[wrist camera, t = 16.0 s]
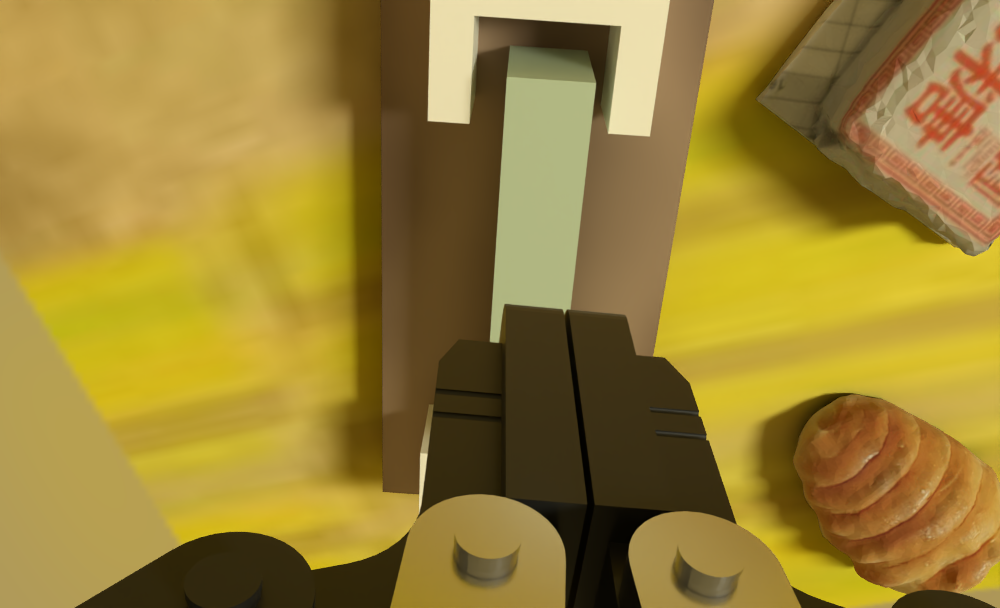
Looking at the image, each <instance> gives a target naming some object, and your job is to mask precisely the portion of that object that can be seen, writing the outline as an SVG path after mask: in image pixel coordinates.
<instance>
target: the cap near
mask: <svg viewBox="0 0 1000 608" xmlns="http://www.w3.org/2000/svg"><path fill="white" fill-rule="evenodd" d="M669 4H670V0H430V40H429V85H428V121H435V122H449V123H463V124H469V123H470V119H471V114H472V110H473V105H474V100H475V94H476V73H477V52H478V32H479V16H485V17H499V18H513V19H527V20H542V21H556V22H570V23H585V24H599V25H610V32H609V40H608V49H607V57H606V66H605V74H604V83H603V91H602V100H601V108H602V112H603V116H604V120H605V123H606V127H607V131H608V134H621V135H635V136H649V137H650V132H651V125H652V118H653V111H654V105H655V98H656V91H657V84H658V78H659V71H660V64H661V57H662V51H663V44H664V37H665V31H666V24H667V17H668V10H669Z"/></svg>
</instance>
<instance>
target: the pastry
mask: <svg viewBox="0 0 1000 608" xmlns="http://www.w3.org/2000/svg"><path fill="white" fill-rule="evenodd" d="M793 464H794V466H795V468H796V471H797V473H798V476H799V477H800V479H801V481H802V483H803V489H804V496H805V499H806V501H807V502H808V504H809V505H810V506H811V508H812V509H813V510H814V511H815V512H816V514H817V517H818V521H819V527H820V530H821V532H822V535H823V537H825V538H826V539H827V540H828V541H829V542H830V544H832V545H834V546H835V547H836V548H837V549H838V550H840V551H842V552H843V553H845V554H847V555H848V556H849V557H850V558H851V560H852V562H853V564H854V568H855V571H856V572H857V574H858V575H859V576H860V577H862V578H864V579H865V580H867V581H869V582H871V583H873V584H876V585H880V586H883V587H885V588H886V587H889V588H891V589H893V590H896V591H899V592H902V593H906V594H909V593H912V592H916V591H921V590H944V591H950V592H956V593H962V592H964V591H966V590H968V589H970V588H972V587H974V586H976V585H977V584H979V583H980V582H981V581H982V580H983V579H984V578H985V576H986V575H987V573H988V572H989V570H990V568H991V567H992V566H993V565H995V564H996V563H998V562H999V561H1000V483H999V480H998V478H997V475H996V473H995V472H994V471H993V469H992V468H991V467H990V466H988V465H987V464H985V463H984V462H983V461H981V460H980V459H979V458H977V457H976V456H975V455H974V454H973V453H971V452H970V451H969V450H968V449H967V448H966V447H964V446H963V445H962V444H961V443H959V442H958V441H956V440H955V439H954V438H952V437H951V436H949V435H947V434H945V433H944V432H942V431H941V430H939V429H938V428H936V427H934V426H932V425H930V424H928V423H927V422H925V421H923V420H921V419H919V418H917V417H915V416H913V415H912V414H910V413H908V412H906V411H904V410H903V409H901V408H899V407H897V406H895V405H894V404H892V403H890V402H887V401H885V400H883V399H878V398H871V397H866V396H862V395H857V394H851V395H848V396H843V397H839V398H837V399H836V400H834V401H833V402H831V403H830V404H829V405H827V406H825V407H823V408H822V409H820V410H819V411H817V412H816V413H815V414H814V415H812V417H811V418H810V419H809V420H808V422H807V423H806V425H805V426H804V428H803V429H802V431H801V434H800V436H799V440H798V445H797V448H796V451H795V454H794V457H793Z"/></svg>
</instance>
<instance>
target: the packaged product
mask: <svg viewBox="0 0 1000 608" xmlns="http://www.w3.org/2000/svg"><path fill="white" fill-rule="evenodd" d="M756 100H757V101H758V102H760V103H761V104H762V105H763V106H765V107H766V108H767V109H769V110H770V111H771V112H773V113H774V114H775V115H776V116H778V117H779V118H780V119H782V120H783V121H784V122H786V123H787V124H788V125H789V126H791V127H792V128H793V129H795V130H796V131H797V132H799V133H800V134H801V135H803V136H804V137H805V138H806V139H808V140H809V141H810V142H812V143H813V144H814V145H816V146H817V149H818V150H819V151H820V152H822V153H823V154H824V155H825V156H826V157H827V158H828V159H830V160H832V161H833V162H835V163H837V164H838V165H840V166H842V167H844V168H845V169H846V170H847V171H848V172H849V173H850V174H851V175H852V176H853V177H854V179H855V180H856V181H857V182H858V183H859V184H860V185H862V186H863V187H865V188H867V189H868V190H870V191H872V192H873V193H875V194H876V195H877V196H879V197H880V198H881V199H883V200H884V201H886V202H887V203H889V204H890V205H892V206H893V207H895V208H898V209H902V210H905V211H907V212H908V213H909V214H911V215H912V216H913V217H915V218H916V219H917V220H919V221H920V222H921V223H923V224H924V225H925V226H927V227H928V228H929V229H931V230H932V231H933V232H935V233H936V234H937V235H939V236H940V237H941V238H943V239H944V240H945V241H947V242H948V243H949V244H951V245H952V246H953V247H957V248H960V249H961V250H962V251H963V252H964V253H965V254H967V255H971V256H976V255H978V254H980V253H982V252H984V251H986V250H988V249H989V247H990V246H991V244H992V243H993V242H994V240H995V239H996V238H998V236H999V235H1000V0H834V1H833V2H832V3H831V4H830V6H829V7H828V8H827V9H826V10H825V11H824V13H823V14H822V15H821V16H820V18H819V19H818V20H817V22H816V23H815V24H814V25H813V27H812V28H811V29H810V31H809V32H808V33H807V34H806V36H805V37H804V38H803V40H802V41H801V42H800V43H799V45H798V46H797V47H796V49H795V50H794V51H793V52H792V54H791V55H790V56H789V58H788V59H787V60H786V62H785V63H784V64H783V66H782V67H781V69H780V70H779V71H778V73H777V74H776V75H775V77H774V78H773V79H772V81H771V82H770V83H769V85H768V86H767V88H766V89H765V90H764V91H763V92H762V93H761V94H760V95H759V96H758V97H757V98H756Z"/></svg>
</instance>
